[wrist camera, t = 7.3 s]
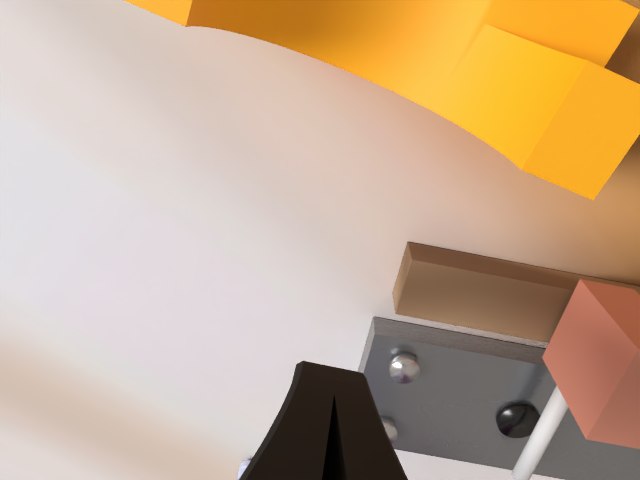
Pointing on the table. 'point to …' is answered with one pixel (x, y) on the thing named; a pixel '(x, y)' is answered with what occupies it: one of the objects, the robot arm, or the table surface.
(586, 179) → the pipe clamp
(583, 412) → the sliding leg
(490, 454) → the strip
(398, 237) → the table surface
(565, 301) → the trammel bar
